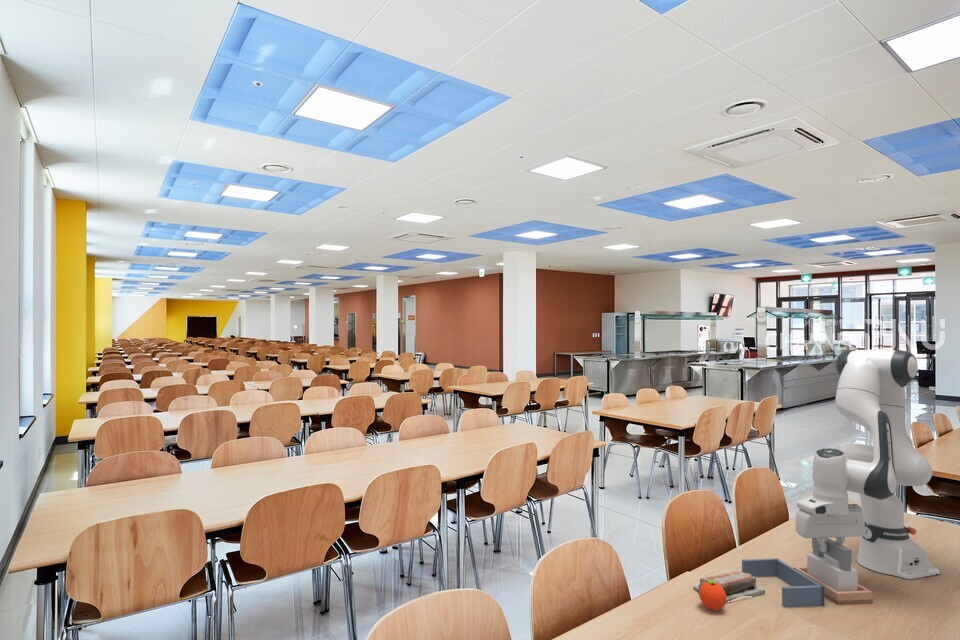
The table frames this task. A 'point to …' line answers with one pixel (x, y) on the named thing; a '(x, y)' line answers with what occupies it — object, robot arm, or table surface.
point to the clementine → (712, 595)
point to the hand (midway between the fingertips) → (831, 551)
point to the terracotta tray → (842, 597)
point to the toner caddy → (832, 566)
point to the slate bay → (801, 585)
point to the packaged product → (735, 584)
